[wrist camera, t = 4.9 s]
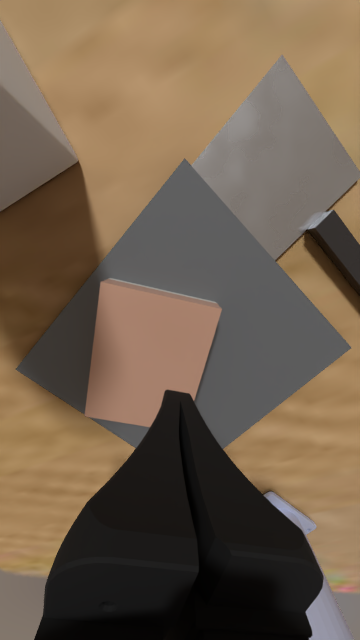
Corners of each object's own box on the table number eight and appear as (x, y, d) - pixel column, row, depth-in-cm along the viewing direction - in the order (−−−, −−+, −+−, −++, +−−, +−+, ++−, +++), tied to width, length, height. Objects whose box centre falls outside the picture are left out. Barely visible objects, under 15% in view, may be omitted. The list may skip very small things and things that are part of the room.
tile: (222, 309, 13) (100, 281, 12) (184, 432, 16) (84, 416, 15) (215, 301, 15) (110, 277, 14) (183, 413, 18) (94, 398, 17)
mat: (183, 474, 21) (184, 479, 20) (20, 365, 17) (15, 369, 16) (346, 345, 17) (351, 347, 16) (184, 161, 13) (184, 158, 12)
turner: (436, 294, 16) (455, 297, 15) (356, 356, 17) (368, 363, 16) (279, 59, 11) (290, 39, 10) (190, 168, 13) (191, 160, 12)
